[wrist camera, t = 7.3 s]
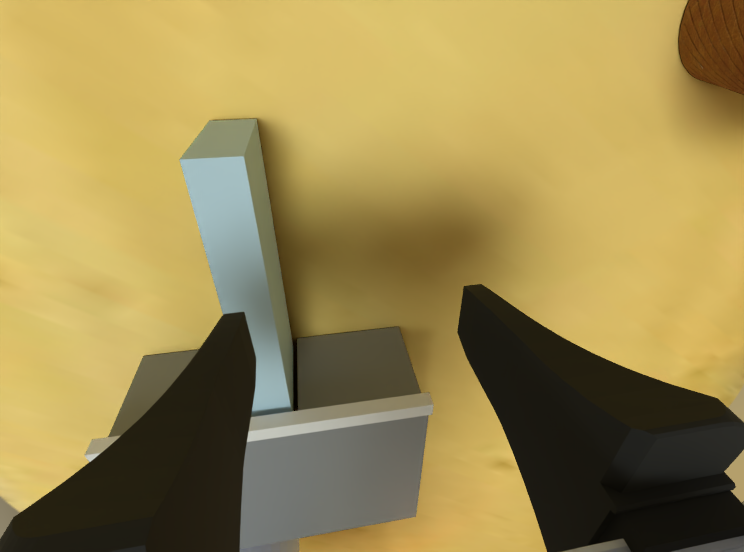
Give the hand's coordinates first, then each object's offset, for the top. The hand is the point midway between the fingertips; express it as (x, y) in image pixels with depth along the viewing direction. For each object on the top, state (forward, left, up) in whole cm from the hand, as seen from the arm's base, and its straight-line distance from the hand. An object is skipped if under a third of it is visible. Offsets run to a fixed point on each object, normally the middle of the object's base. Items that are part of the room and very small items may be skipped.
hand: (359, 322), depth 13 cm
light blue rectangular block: (-2, +4, -9) cm, 10 cm away
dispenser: (-14, +4, -9) cm, 18 cm away
